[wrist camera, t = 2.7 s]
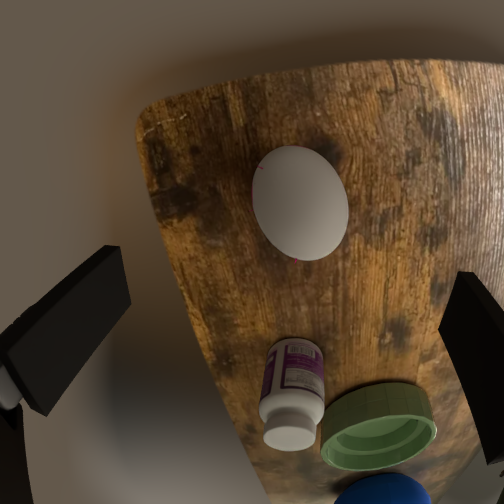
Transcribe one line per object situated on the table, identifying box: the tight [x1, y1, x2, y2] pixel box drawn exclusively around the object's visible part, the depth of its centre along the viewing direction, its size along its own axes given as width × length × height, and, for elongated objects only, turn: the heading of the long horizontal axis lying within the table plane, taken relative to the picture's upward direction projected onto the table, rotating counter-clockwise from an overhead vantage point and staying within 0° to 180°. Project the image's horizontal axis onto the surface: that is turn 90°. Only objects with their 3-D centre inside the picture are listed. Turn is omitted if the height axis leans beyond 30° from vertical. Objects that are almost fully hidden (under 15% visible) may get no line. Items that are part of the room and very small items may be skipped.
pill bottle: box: [259, 338, 324, 451], centre depth 25 cm, size 5×5×10 cm
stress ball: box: [248, 145, 348, 263], centre depth 21 cm, size 8×8×7 cm
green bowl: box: [320, 383, 437, 471], centre depth 29 cm, size 13×13×5 cm
